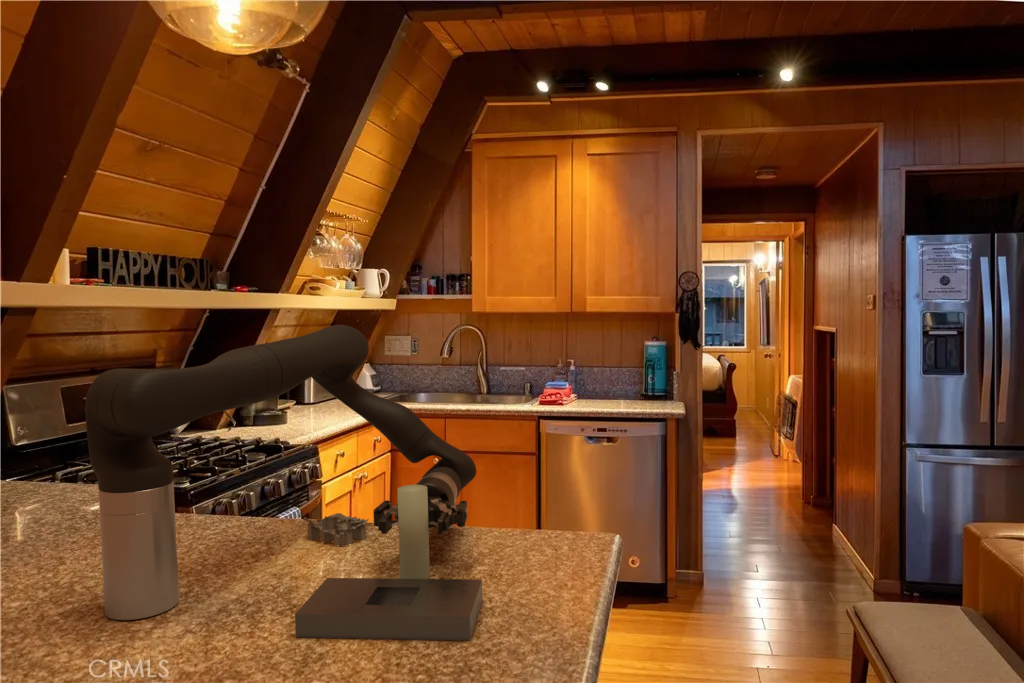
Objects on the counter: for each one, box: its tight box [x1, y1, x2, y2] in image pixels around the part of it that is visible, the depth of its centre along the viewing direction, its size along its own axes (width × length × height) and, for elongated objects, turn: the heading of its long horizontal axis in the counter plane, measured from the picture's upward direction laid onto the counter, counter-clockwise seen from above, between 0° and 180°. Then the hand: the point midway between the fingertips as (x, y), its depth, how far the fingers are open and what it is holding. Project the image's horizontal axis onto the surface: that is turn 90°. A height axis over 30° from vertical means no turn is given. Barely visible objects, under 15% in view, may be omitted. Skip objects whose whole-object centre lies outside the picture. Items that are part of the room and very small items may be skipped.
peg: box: [397, 484, 431, 579], centre depth 109 cm, size 4×4×14 cm
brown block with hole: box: [294, 577, 484, 642], centre depth 96 cm, size 22×12×3 cm, turn 85°
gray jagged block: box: [302, 512, 370, 546], centre depth 130 cm, size 11×8×4 cm
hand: (411, 527), depth 108 cm, fingers open, 8 cm apart
